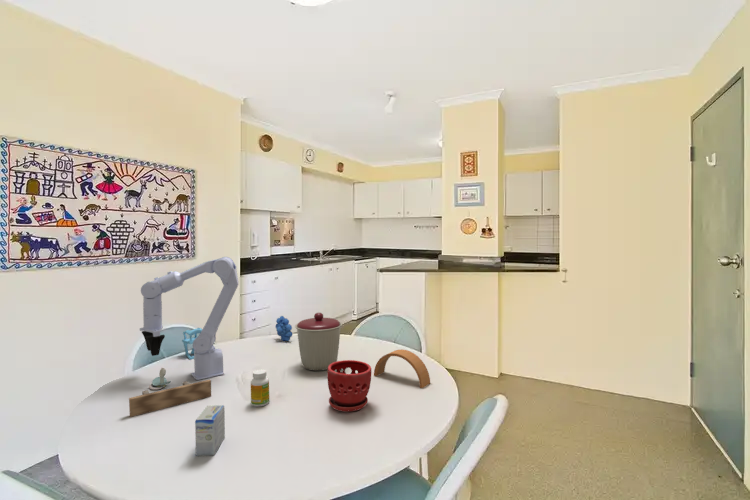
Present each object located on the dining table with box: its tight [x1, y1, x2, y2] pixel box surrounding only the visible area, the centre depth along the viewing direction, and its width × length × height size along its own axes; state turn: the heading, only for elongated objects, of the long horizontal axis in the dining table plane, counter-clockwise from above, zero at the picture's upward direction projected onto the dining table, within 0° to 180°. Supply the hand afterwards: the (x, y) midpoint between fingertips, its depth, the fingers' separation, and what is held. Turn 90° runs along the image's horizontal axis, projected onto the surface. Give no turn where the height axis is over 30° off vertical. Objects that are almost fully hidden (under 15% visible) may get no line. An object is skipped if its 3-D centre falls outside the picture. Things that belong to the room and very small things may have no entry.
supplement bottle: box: [250, 369, 270, 407], centre depth 118 cm, size 5×5×10 cm
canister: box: [294, 312, 343, 371], centre depth 151 cm, size 18×18×21 cm
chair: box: [181, 327, 203, 360], centre depth 166 cm, size 8×8×12 cm
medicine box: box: [194, 404, 226, 457], centre depth 94 cm, size 8×4×9 cm, turn 5°
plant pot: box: [326, 359, 372, 413], centre depth 116 cm, size 13×13×12 cm
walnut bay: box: [128, 378, 212, 418], centre depth 121 cm, size 22×10×5 cm, turn 129°
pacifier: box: [148, 367, 171, 391], centre depth 132 cm, size 7×6×6 cm
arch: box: [373, 349, 431, 389], centre depth 136 cm, size 6×20×10 cm, turn 53°
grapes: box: [275, 315, 293, 342], centre depth 187 cm, size 12×7×12 cm, turn 51°
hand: (153, 352), depth 138 cm, fingers open, 7 cm apart
